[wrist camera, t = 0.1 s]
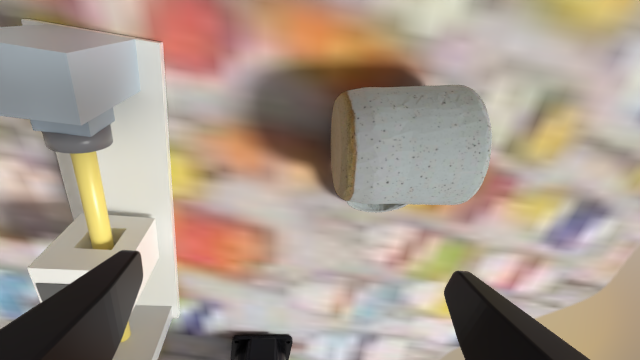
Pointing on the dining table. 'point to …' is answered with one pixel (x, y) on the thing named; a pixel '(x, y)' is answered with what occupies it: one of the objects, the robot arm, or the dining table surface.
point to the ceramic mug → (409, 146)
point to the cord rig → (103, 144)
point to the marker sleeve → (92, 253)
